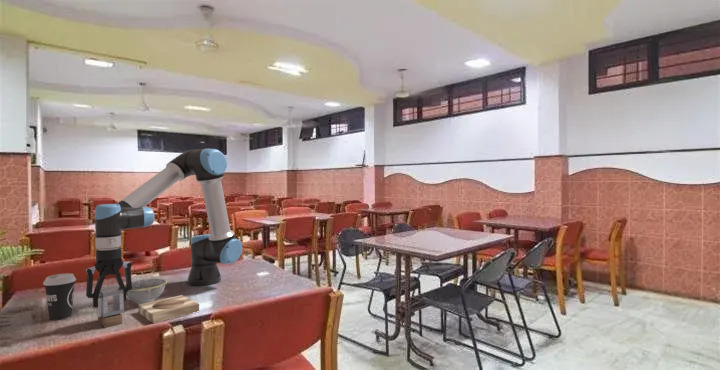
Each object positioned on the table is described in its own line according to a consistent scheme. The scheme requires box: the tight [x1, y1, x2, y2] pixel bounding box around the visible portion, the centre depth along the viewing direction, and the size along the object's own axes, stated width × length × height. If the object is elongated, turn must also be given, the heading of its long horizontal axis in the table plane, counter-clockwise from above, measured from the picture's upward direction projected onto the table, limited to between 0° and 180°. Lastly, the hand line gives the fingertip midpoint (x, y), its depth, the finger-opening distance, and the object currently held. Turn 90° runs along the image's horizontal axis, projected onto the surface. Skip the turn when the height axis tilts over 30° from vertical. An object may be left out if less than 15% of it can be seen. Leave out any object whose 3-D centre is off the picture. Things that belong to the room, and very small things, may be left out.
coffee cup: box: [42, 273, 77, 321], centre depth 139 cm, size 10×10×15 cm
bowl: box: [124, 278, 168, 305], centre depth 156 cm, size 16×16×8 cm
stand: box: [97, 313, 123, 328], centre depth 134 cm, size 10×5×3 cm, turn 46°
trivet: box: [137, 294, 200, 324], centre depth 144 cm, size 16×16×3 cm
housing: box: [99, 284, 125, 317], centre depth 134 cm, size 9×6×8 cm, turn 46°
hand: (110, 313), depth 134 cm, fingers closed on housing, 6 cm apart
